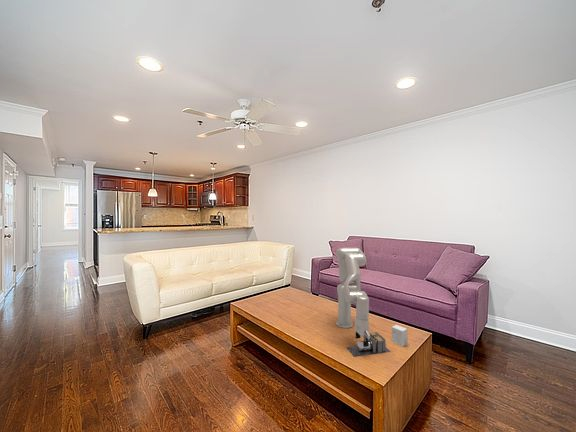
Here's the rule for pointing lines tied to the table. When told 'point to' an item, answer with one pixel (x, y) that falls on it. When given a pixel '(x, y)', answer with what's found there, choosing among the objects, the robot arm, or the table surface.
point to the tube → (361, 347)
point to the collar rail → (380, 346)
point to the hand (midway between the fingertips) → (361, 342)
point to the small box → (399, 335)
